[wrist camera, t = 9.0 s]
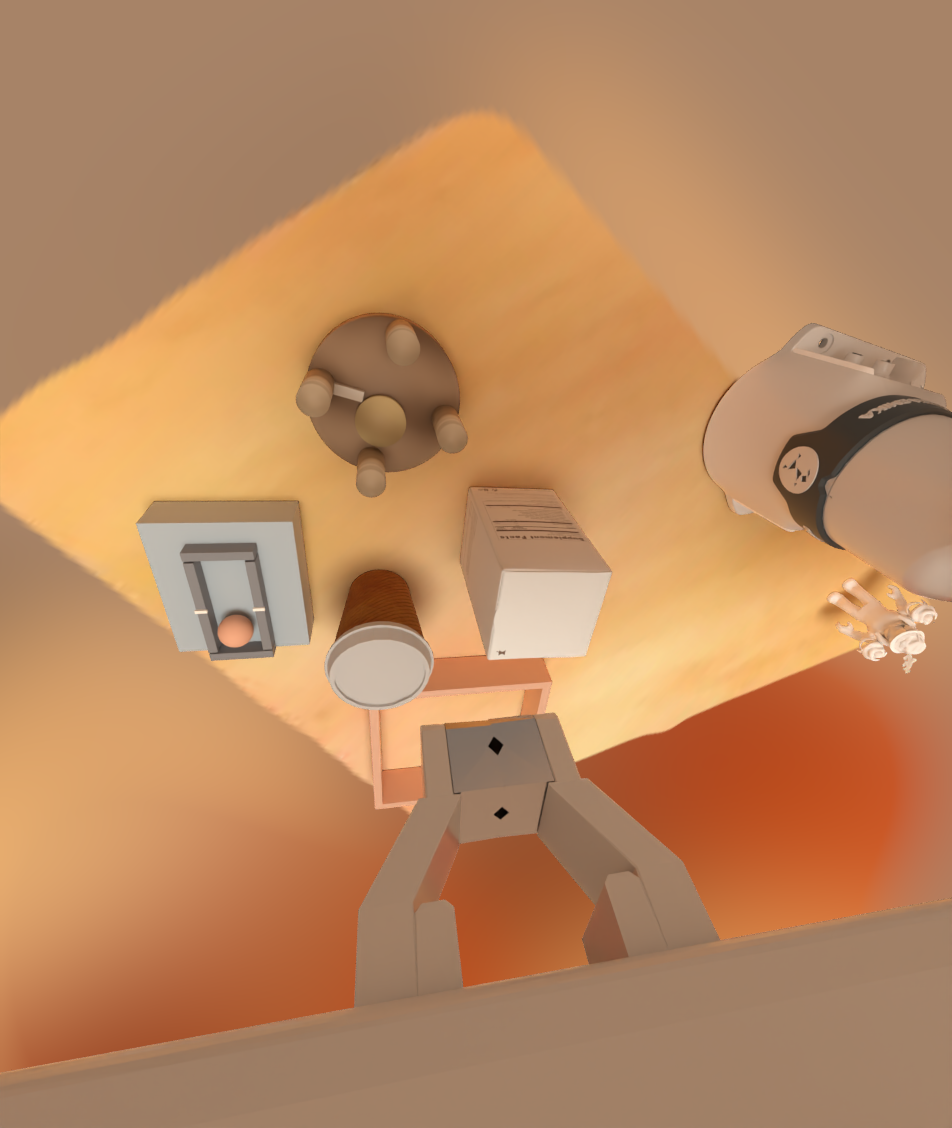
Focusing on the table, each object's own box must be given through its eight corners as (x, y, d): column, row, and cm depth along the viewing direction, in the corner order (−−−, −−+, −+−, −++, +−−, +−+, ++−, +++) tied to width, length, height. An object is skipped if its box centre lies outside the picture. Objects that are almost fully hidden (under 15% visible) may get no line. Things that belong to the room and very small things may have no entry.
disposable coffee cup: (373, 539, 49) (372, 616, 39) (442, 588, 53) (457, 668, 44) (314, 599, 51) (299, 685, 41) (384, 640, 56) (386, 727, 46)
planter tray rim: (540, 652, 61) (552, 681, 57) (518, 760, 73) (526, 791, 69) (368, 663, 57) (368, 695, 53) (375, 775, 69) (375, 809, 65)
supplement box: (538, 563, 54) (587, 660, 41) (458, 562, 52) (484, 664, 40) (556, 487, 49) (617, 571, 37) (468, 483, 47) (501, 571, 35)
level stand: (298, 500, 45) (289, 531, 40) (313, 619, 53) (307, 656, 48) (154, 501, 43) (127, 534, 38) (192, 624, 50) (173, 664, 46)
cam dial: (321, 287, 36) (310, 298, 30) (475, 340, 40) (494, 360, 34) (297, 442, 42) (284, 478, 36) (434, 476, 46) (443, 513, 40)
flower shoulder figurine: (821, 619, 67) (897, 685, 57) (807, 609, 66) (883, 674, 56) (879, 572, 64) (971, 633, 54) (866, 559, 62) (958, 620, 52)
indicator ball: (253, 607, 46) (246, 628, 43) (259, 631, 47) (252, 653, 45) (219, 608, 45) (210, 630, 43) (225, 633, 47) (217, 655, 44)
